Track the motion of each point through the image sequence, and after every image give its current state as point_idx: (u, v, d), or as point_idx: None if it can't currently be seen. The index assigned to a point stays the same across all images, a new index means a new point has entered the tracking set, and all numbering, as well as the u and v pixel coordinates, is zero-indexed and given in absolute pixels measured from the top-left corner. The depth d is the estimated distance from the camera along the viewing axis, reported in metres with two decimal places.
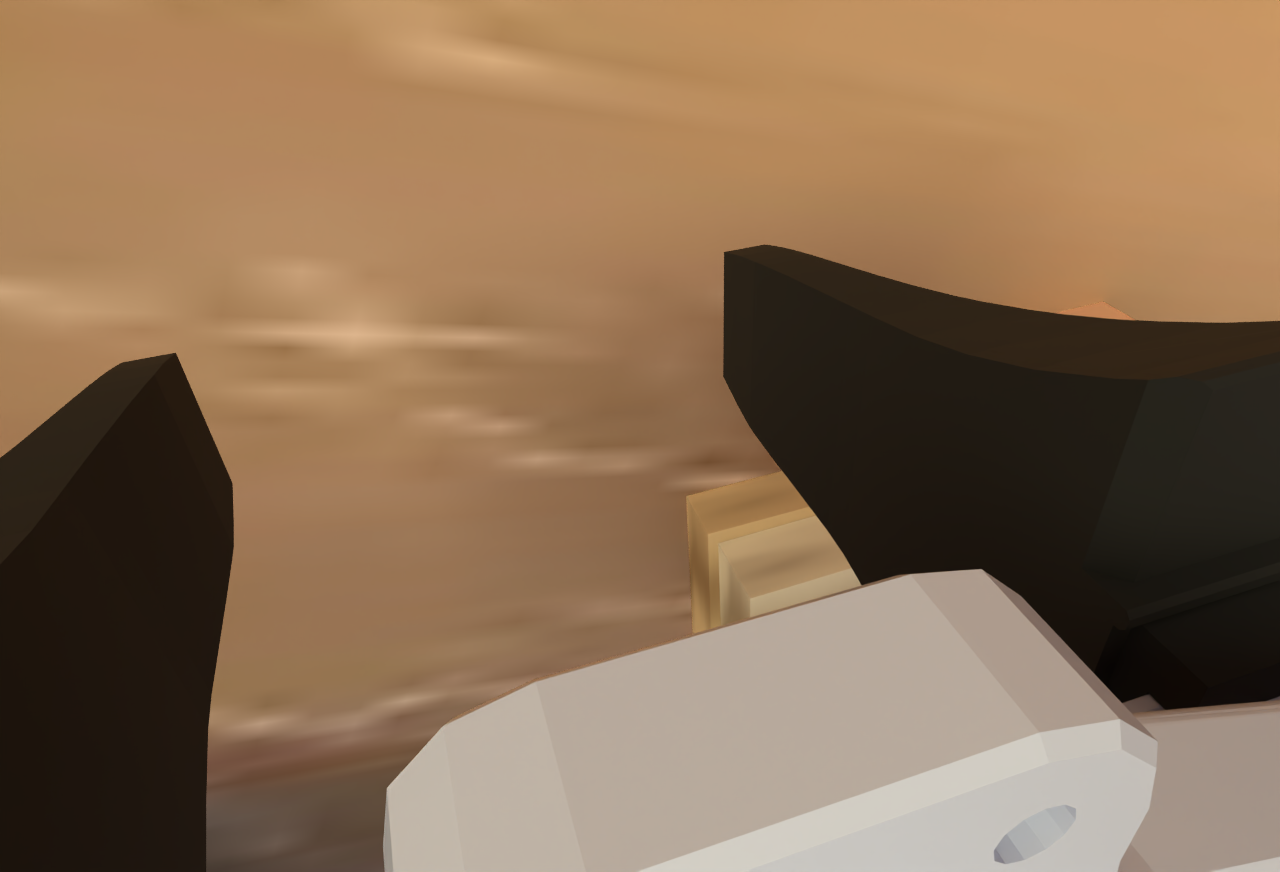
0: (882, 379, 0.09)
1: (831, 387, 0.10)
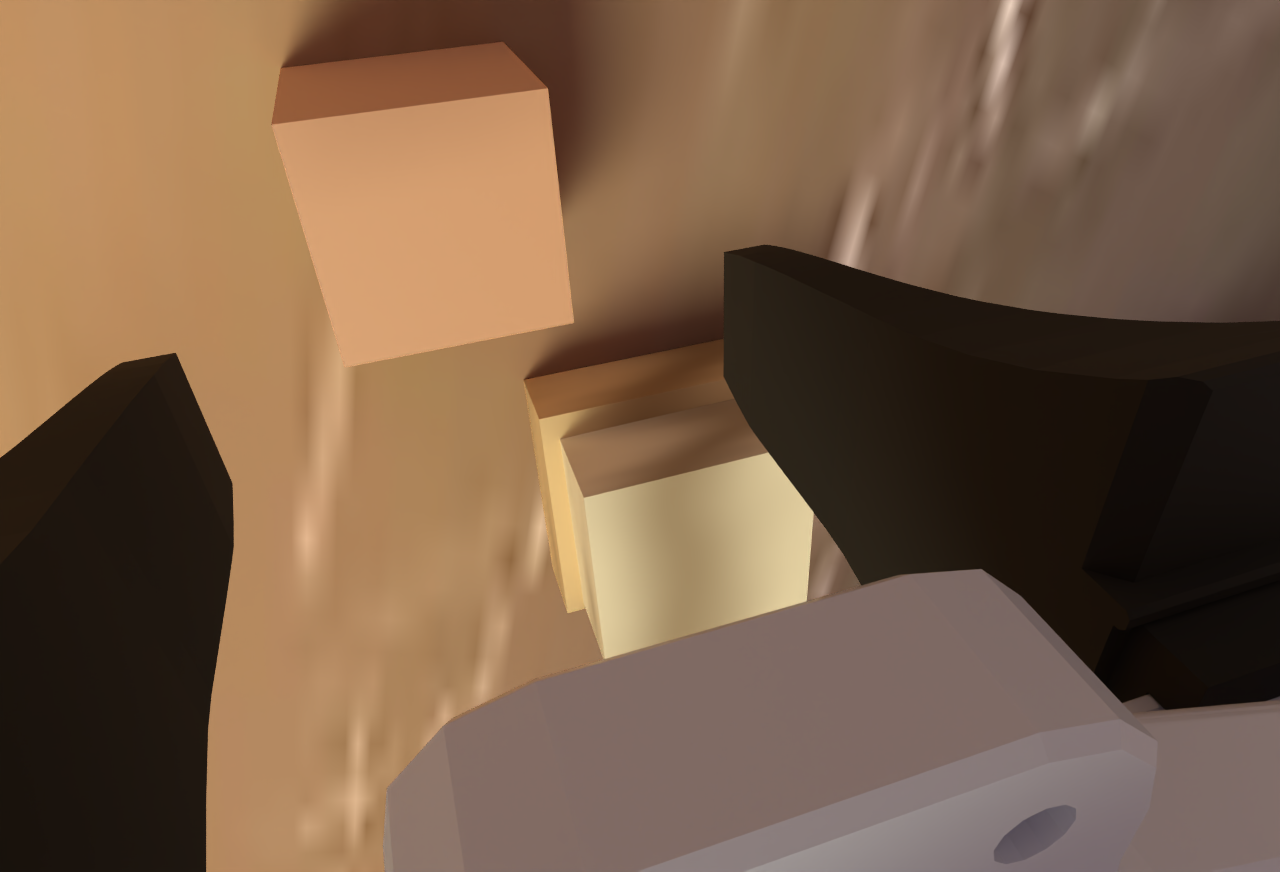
0: (882, 379, 0.09)
1: (831, 387, 0.10)
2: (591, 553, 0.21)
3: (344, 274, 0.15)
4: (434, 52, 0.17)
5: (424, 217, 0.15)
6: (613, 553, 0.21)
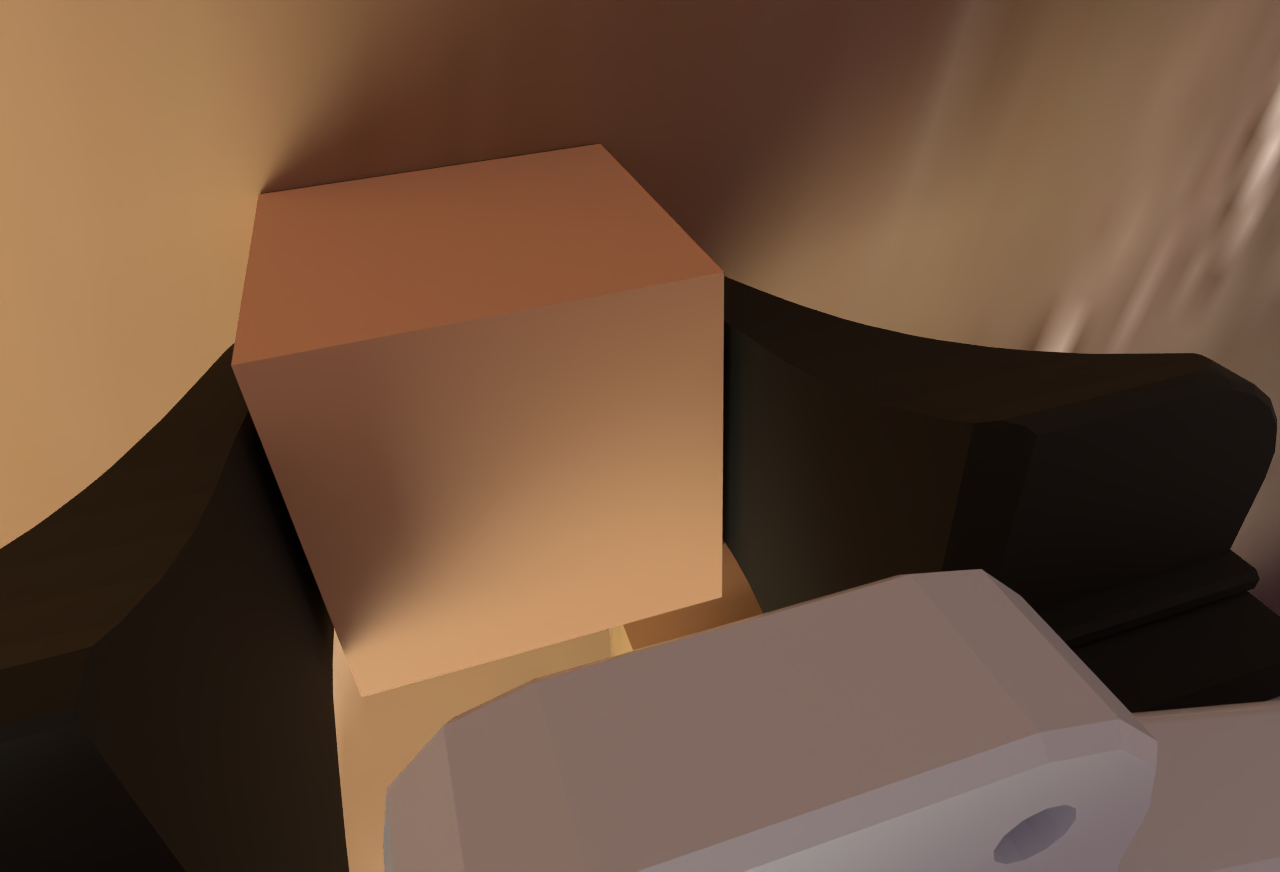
0: (766, 405, 0.08)
1: (727, 410, 0.09)
2: None
3: (363, 575, 0.09)
4: (499, 167, 0.11)
5: (501, 480, 0.09)
6: None
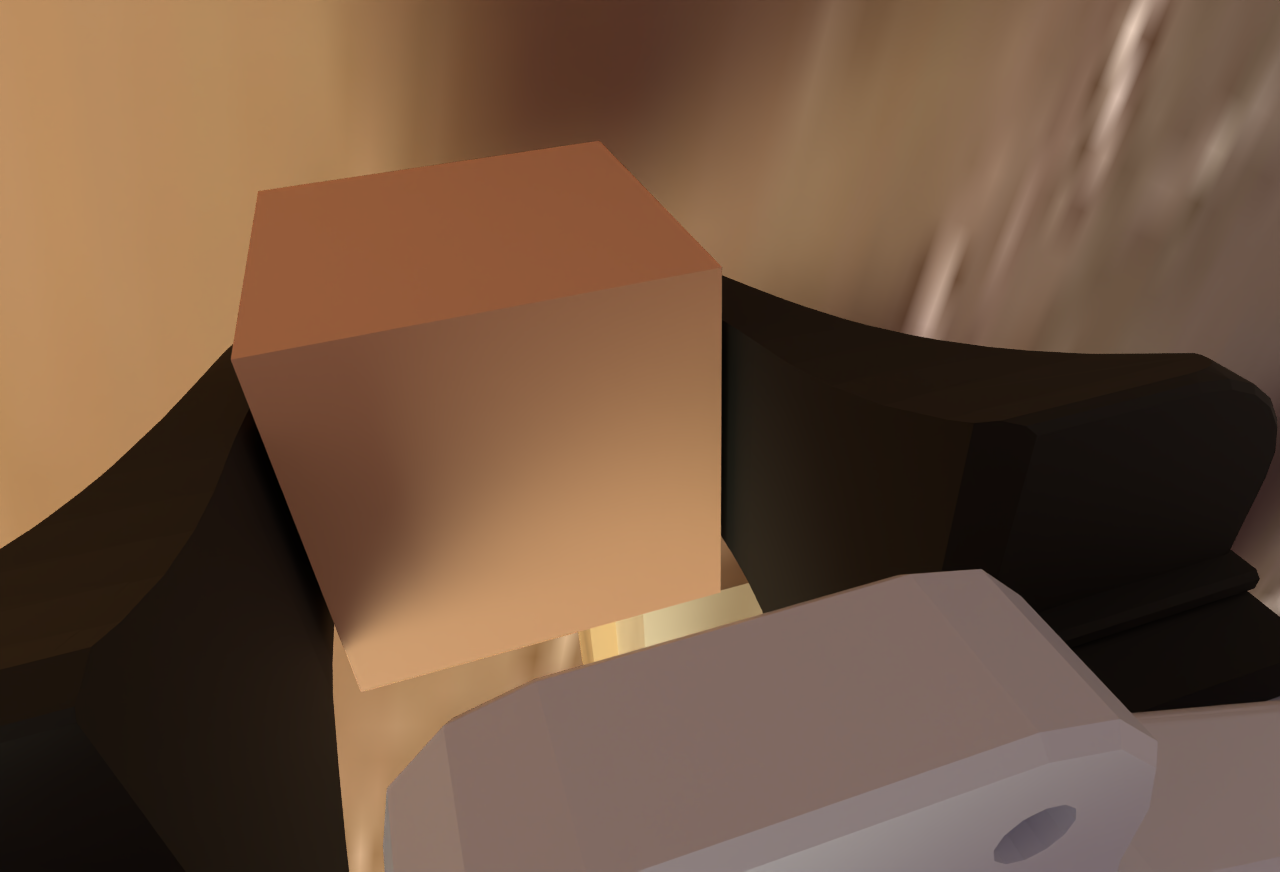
0: (766, 405, 0.08)
1: (727, 410, 0.09)
2: None
3: (362, 570, 0.09)
4: (498, 163, 0.11)
5: (500, 476, 0.09)
6: None
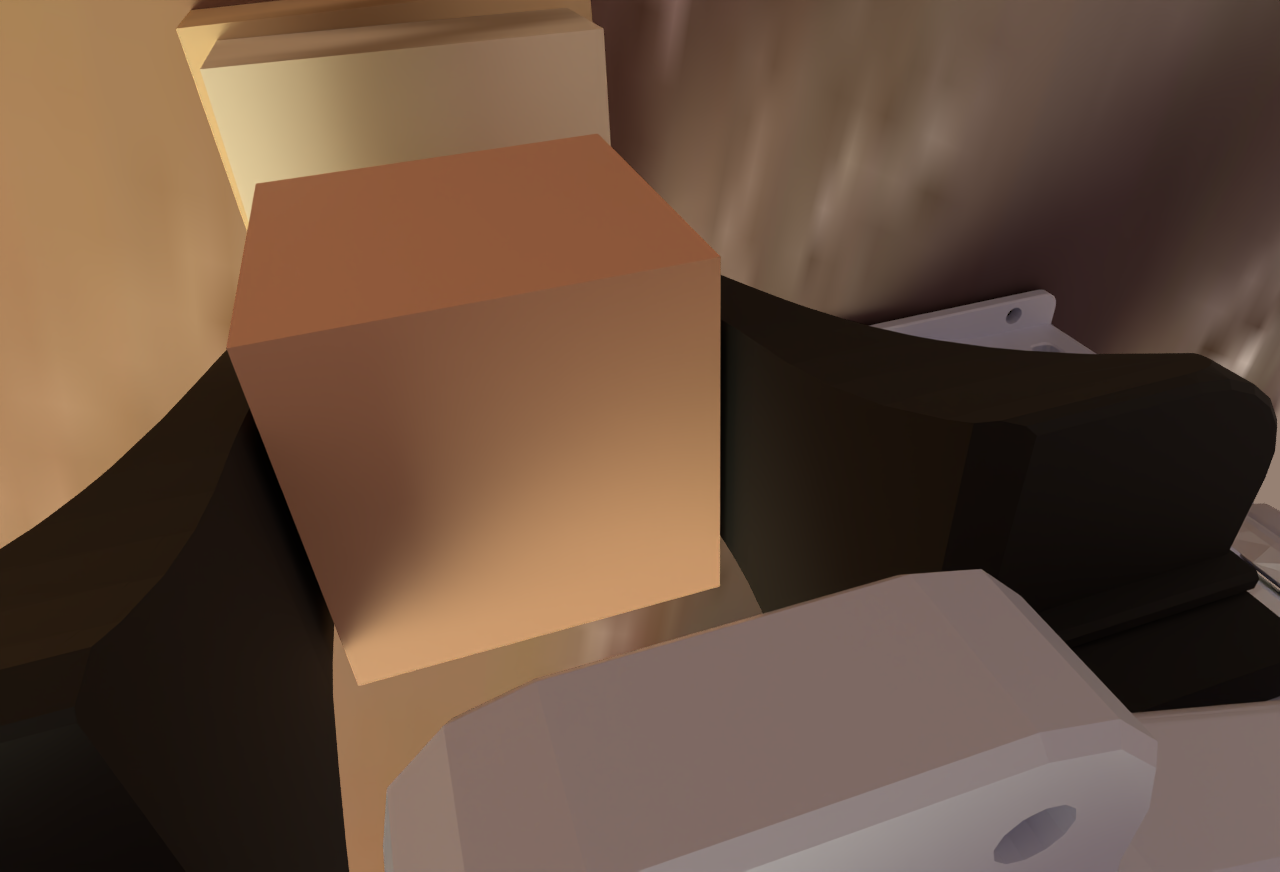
0: (766, 406, 0.08)
1: (726, 410, 0.09)
2: (240, 192, 0.13)
3: (360, 562, 0.09)
4: (497, 156, 0.11)
5: (498, 467, 0.09)
6: None
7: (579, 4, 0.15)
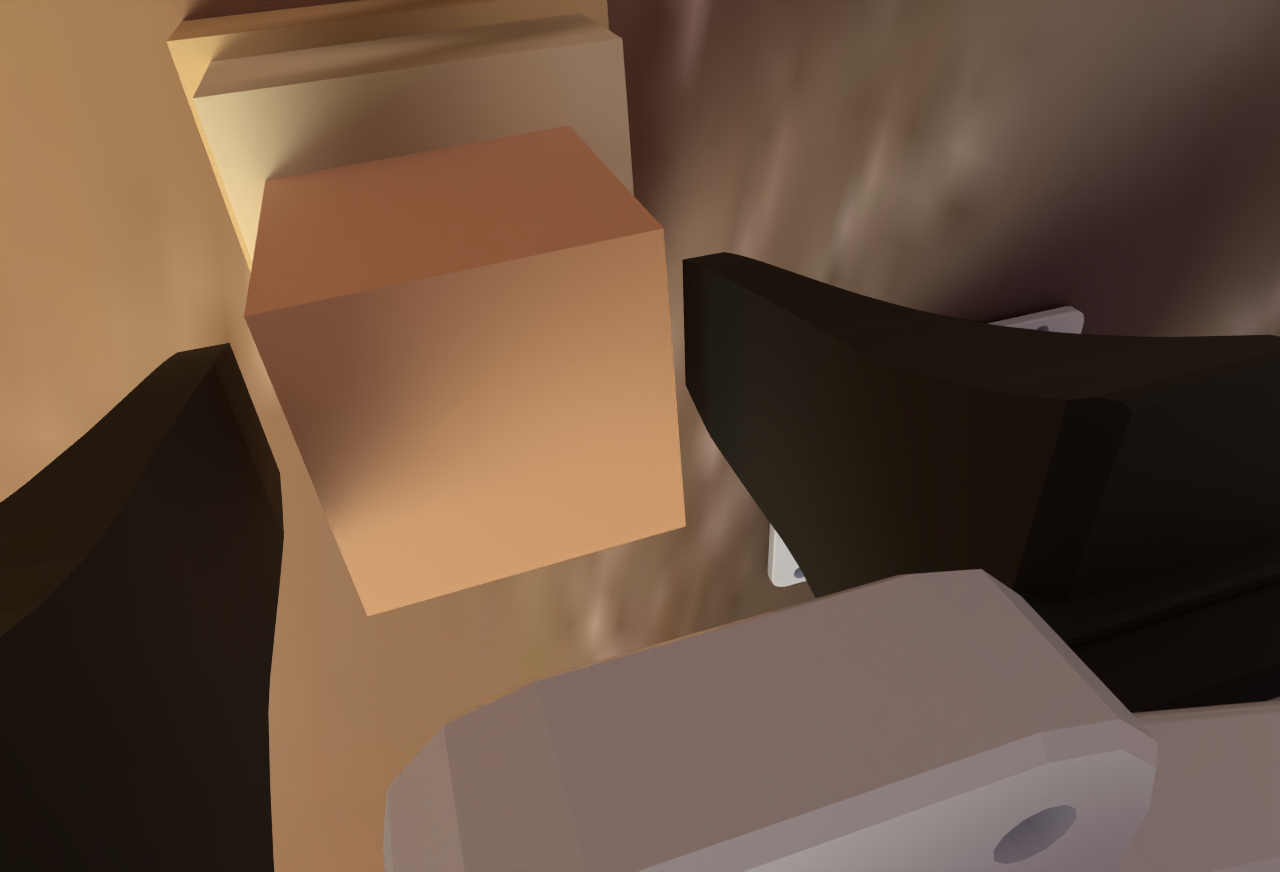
0: (828, 391, 0.08)
1: (782, 398, 0.10)
2: (240, 226, 0.12)
3: (364, 503, 0.10)
4: (477, 149, 0.12)
5: (479, 417, 0.10)
6: None
7: (595, 12, 0.14)
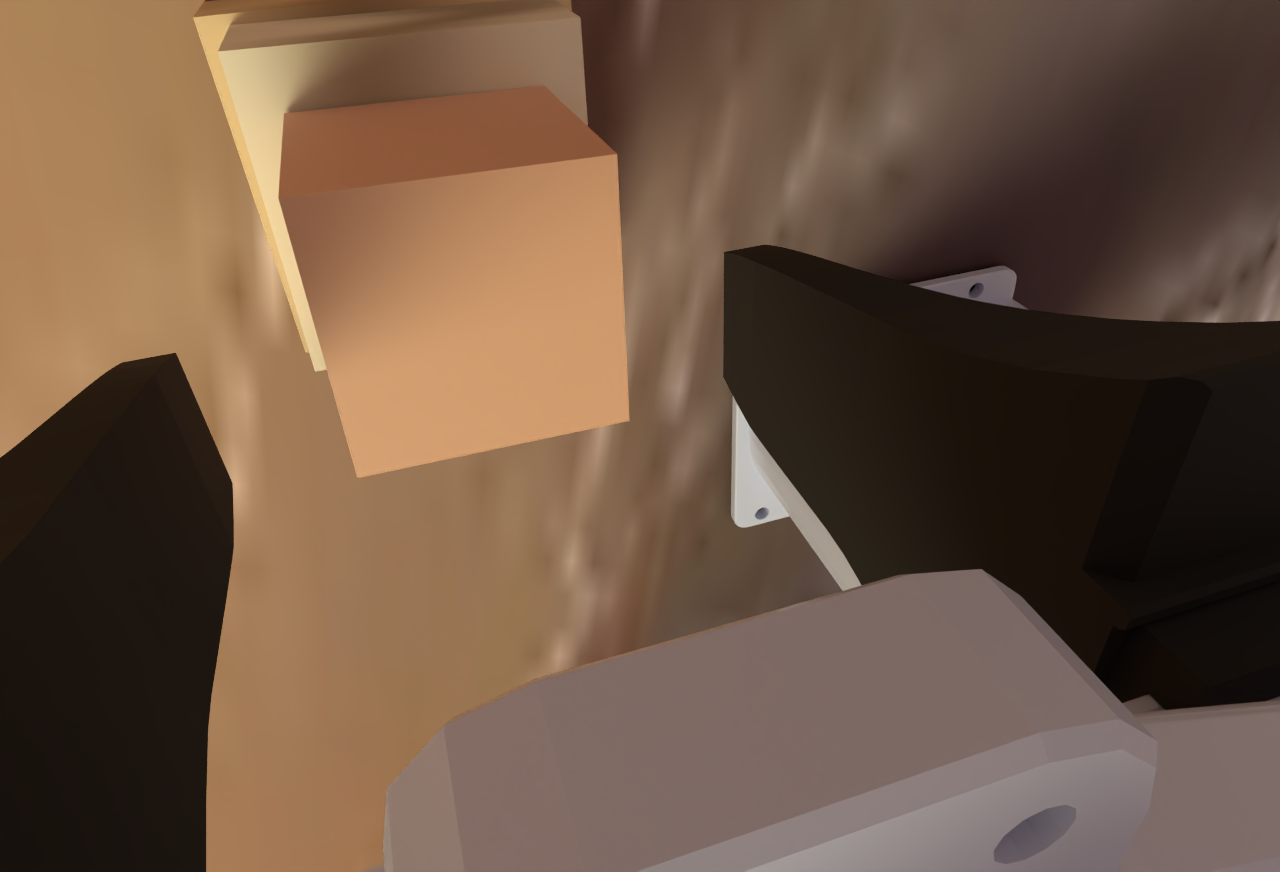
0: (882, 379, 0.09)
1: (831, 388, 0.10)
2: (252, 163, 0.15)
3: (361, 372, 0.12)
4: (466, 98, 0.15)
5: (461, 304, 0.12)
6: None
7: None
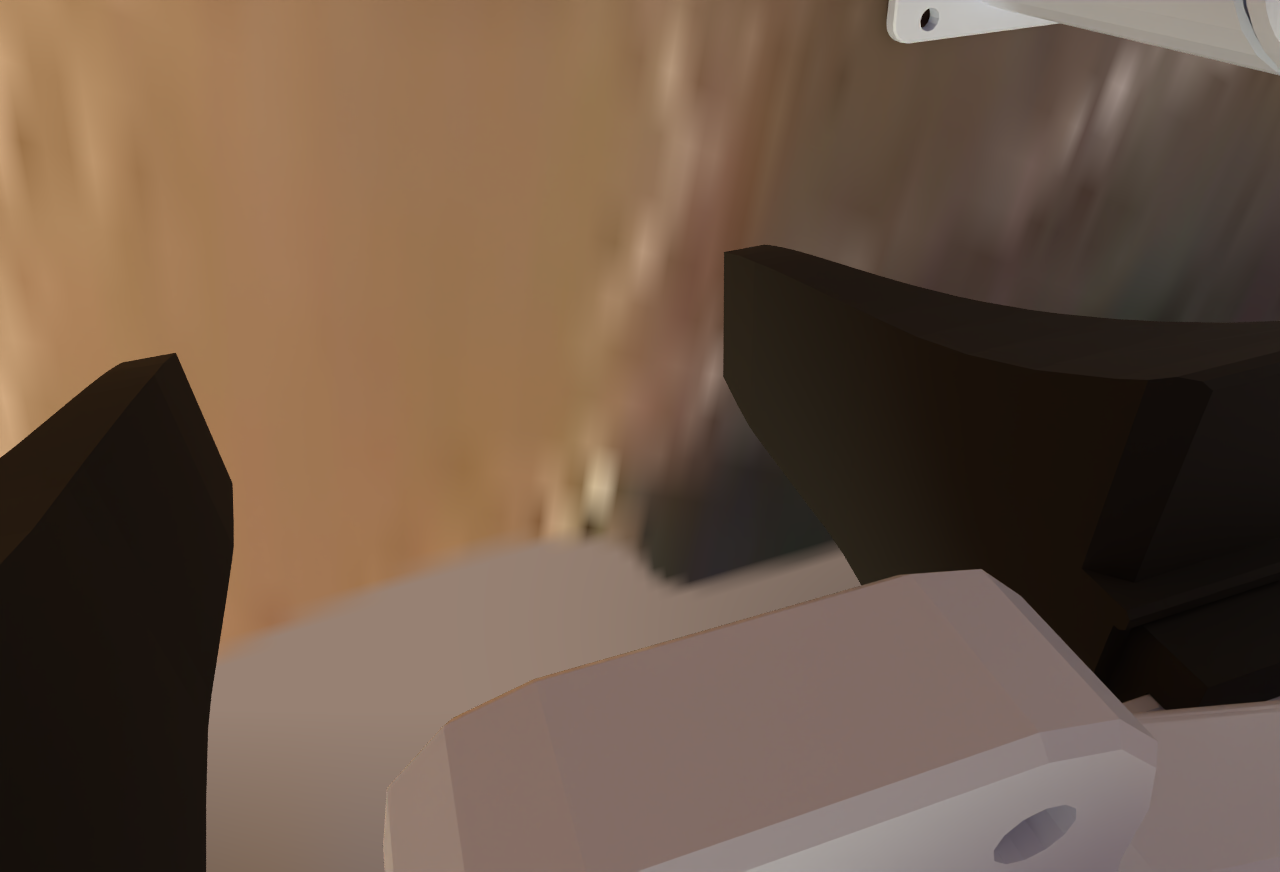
0: (882, 379, 0.09)
1: (831, 387, 0.10)
2: None
3: None
4: None
5: None
6: None
7: None
